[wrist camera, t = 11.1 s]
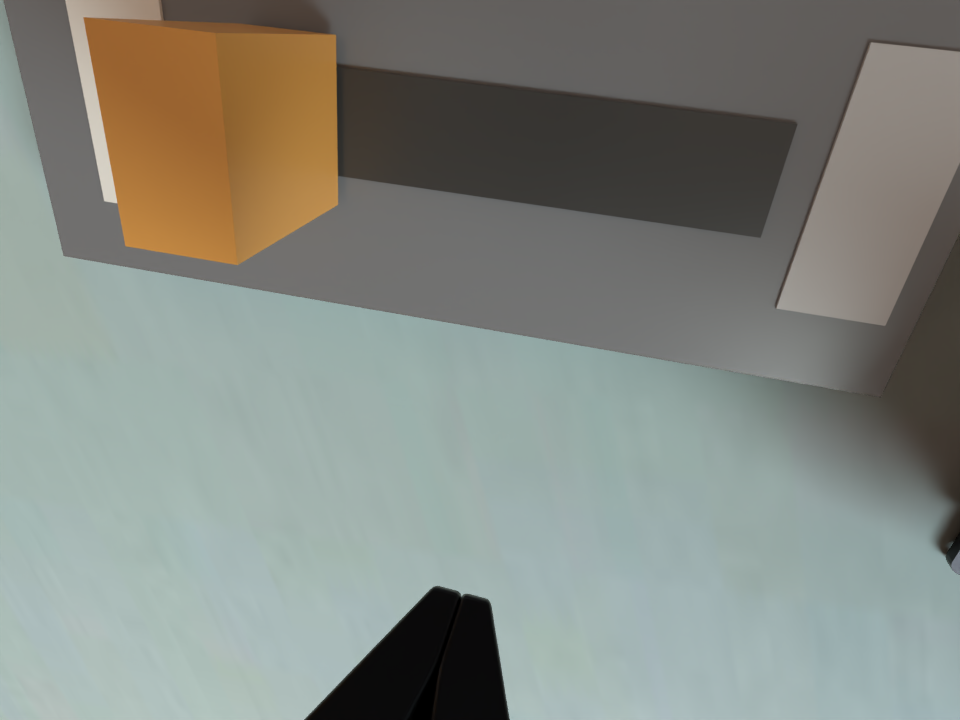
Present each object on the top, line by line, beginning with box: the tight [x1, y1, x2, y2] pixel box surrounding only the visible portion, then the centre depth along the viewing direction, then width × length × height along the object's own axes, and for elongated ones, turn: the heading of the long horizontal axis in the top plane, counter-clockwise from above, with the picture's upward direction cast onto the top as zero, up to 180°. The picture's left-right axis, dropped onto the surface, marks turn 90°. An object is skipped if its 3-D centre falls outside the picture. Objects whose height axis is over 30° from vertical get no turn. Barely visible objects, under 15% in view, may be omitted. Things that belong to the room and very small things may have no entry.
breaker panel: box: [4, 0, 960, 397], centre depth 17 cm, size 24×10×3 cm, turn 84°
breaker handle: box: [83, 17, 338, 265], centre depth 13 cm, size 2×4×5 cm, turn 175°
